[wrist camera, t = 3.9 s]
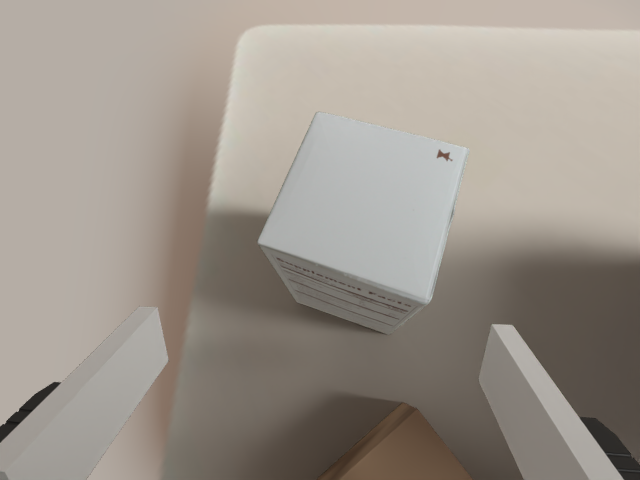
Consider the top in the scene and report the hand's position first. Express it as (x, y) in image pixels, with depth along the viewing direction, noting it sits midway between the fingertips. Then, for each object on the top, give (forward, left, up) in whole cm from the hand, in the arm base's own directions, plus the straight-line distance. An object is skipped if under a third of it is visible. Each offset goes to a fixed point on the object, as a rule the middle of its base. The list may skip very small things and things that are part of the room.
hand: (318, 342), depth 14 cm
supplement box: (-5, -3, -11) cm, 13 cm away
